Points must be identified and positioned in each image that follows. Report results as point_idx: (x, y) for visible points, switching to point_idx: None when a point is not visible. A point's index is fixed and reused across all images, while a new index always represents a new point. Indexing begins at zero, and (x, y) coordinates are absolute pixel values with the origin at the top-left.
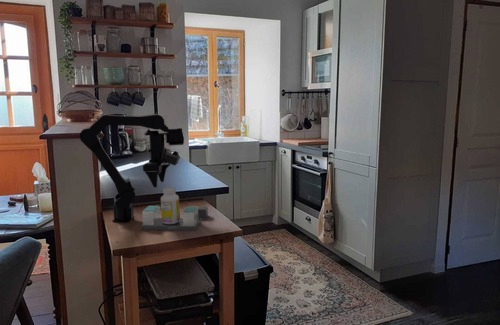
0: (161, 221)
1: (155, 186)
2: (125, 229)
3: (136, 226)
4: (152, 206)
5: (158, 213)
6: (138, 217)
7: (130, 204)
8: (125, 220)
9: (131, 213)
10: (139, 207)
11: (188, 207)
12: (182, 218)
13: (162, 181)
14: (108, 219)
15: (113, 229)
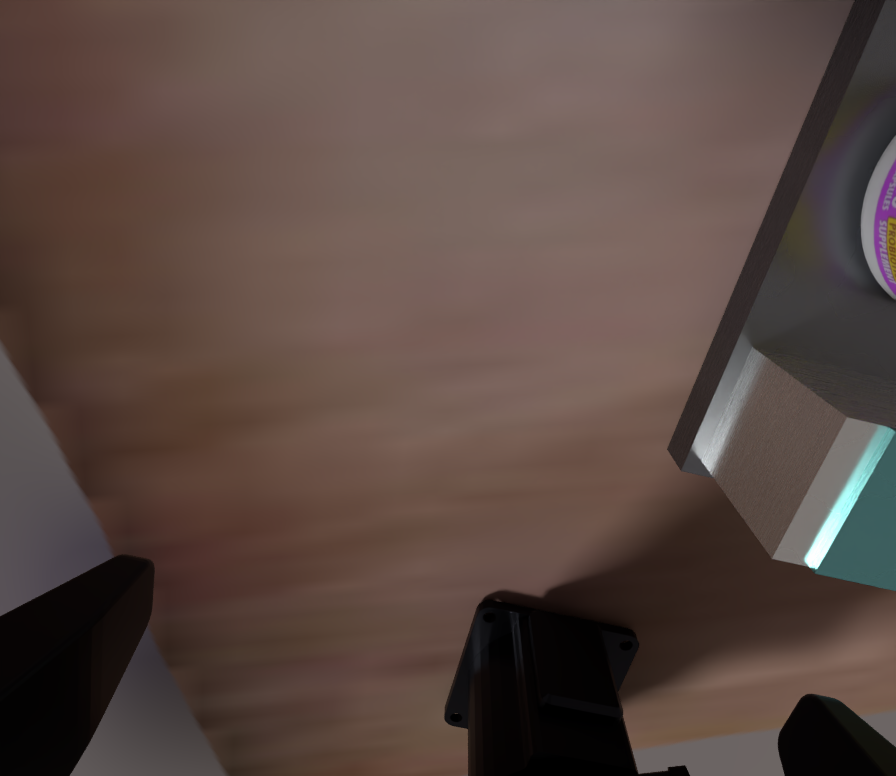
0: (890, 324)
1: (839, 737)
2: (838, 628)
3: None
4: (876, 521)
5: (859, 393)
6: (496, 559)
7: (582, 758)
8: (619, 660)
9: (597, 662)
10: None
11: None
12: (880, 19)
13: (148, 590)
14: None
15: None
